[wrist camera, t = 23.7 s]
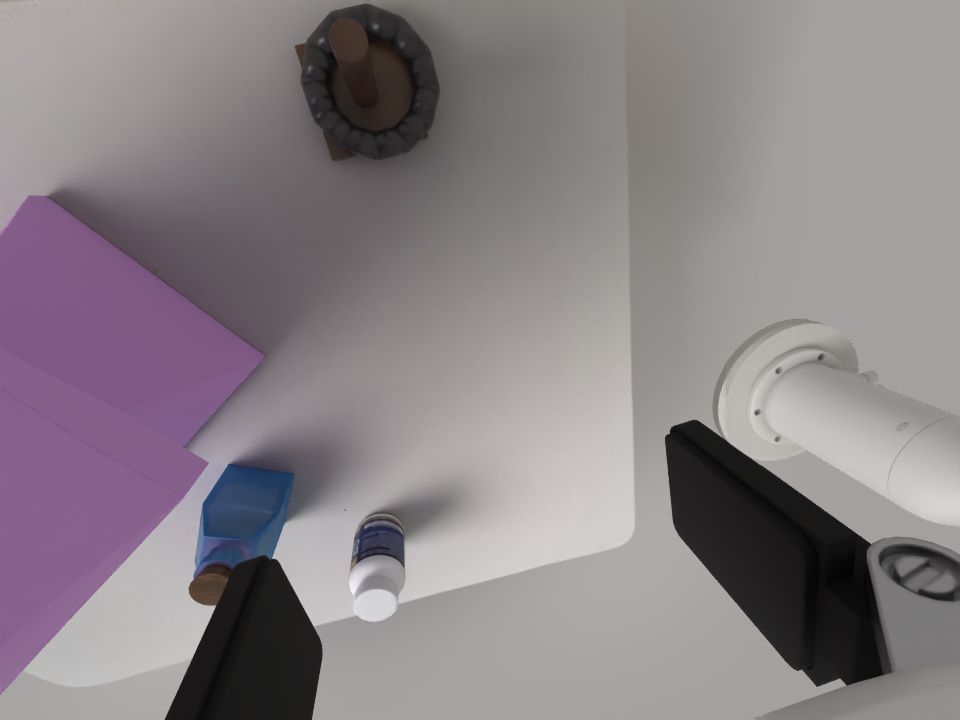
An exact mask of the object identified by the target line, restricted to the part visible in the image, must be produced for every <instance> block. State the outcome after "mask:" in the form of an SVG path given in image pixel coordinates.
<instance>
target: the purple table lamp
mask: <svg viewBox="0 0 960 720" xmlns="http://www.w3.org/2000/svg"><path fill="white" fill-rule="evenodd" d="M265 357H266V356H264V355H263V354H261V353H260V352H259V351H257V350H256V349H255V348H253V347H252V346H250V345H249V344H248V343H246V342H245V341H244V340H242V339H241V338H240V337H238V336H237V335H235V334H234V333H233V332H231V331H230V330H229V329H227V328H226V327H224V326H223V325H222V324H220V323H219V322H218V321H216V320H215V319H214V318H212V317H211V316H209V315H208V314H207V313H205V312H204V311H203V310H201V309H200V308H199V307H197V306H196V305H194V304H193V303H192V302H190V301H189V300H188V299H186V298H185V297H183V296H182V295H181V294H179V293H178V292H177V291H175V290H174V289H173V288H171V287H170V286H168V285H167V284H166V283H164V282H163V281H162V280H160V279H159V278H157V277H156V276H155V275H153V274H152V273H151V272H149V271H148V270H147V269H145V268H144V267H142V266H141V265H140V264H138V263H137V262H136V261H134V260H133V259H132V258H130V257H129V256H127V255H126V254H125V253H123V252H122V251H121V250H119V249H118V248H116V247H115V246H114V245H112V244H111V243H110V242H108V241H107V240H106V239H104V238H103V237H101V236H100V235H99V234H97V233H96V232H95V231H93V230H92V229H90V228H89V227H88V226H86V225H85V224H84V223H82V222H81V221H80V220H78V219H77V218H75V217H74V216H73V215H71V214H70V213H69V212H67V211H66V210H65V209H63V208H62V207H60V206H59V205H58V204H56V203H55V202H54V201H52V200H51V199H49V198H48V197H47V196H28V198H27V199H26V200H25V201H24V203H23V204H22V205H21V207H20V208H19V209H18V211H17V212H16V213H15V214H14V216H13V217H12V218H11V220H10V221H9V222H8V223H7V225H6V226H5V227H4V229H3V230H2V231H1V233H0V695H1V694H2V692H3V691H4V690H5V689H6V688H7V687H8V686H9V685H10V684H11V683H12V682H13V680H14V679H15V678H16V677H17V676H18V675H19V674H20V673H21V672H22V671H23V669H24V668H25V667H26V666H27V665H28V664H29V663H30V662H31V661H32V660H33V659H34V658H35V656H36V655H37V654H38V653H39V652H40V651H41V650H42V649H43V648H44V647H45V646H46V645H47V643H48V642H49V641H50V640H51V639H52V638H53V637H54V636H55V635H56V634H57V633H58V632H59V630H60V629H61V628H62V627H63V626H64V625H65V624H66V623H67V622H68V621H69V620H70V619H71V618H72V616H73V615H74V614H75V613H76V612H77V611H78V610H79V609H80V608H81V607H82V606H83V605H84V604H85V603H86V601H87V600H88V599H89V598H90V597H91V596H92V595H93V594H94V593H95V592H96V591H97V590H98V589H99V588H100V587H101V586H102V584H103V583H104V582H105V581H106V580H107V579H108V578H109V577H110V576H111V575H112V574H113V573H114V572H115V571H116V570H117V569H118V568H119V566H120V565H121V564H122V563H123V562H124V561H125V560H126V559H127V558H128V557H129V556H130V555H131V554H132V553H133V551H134V550H135V549H136V548H137V547H138V546H139V545H140V544H141V543H142V542H143V541H144V540H145V539H146V537H147V536H148V535H149V534H150V533H151V532H152V531H153V530H154V529H155V528H156V527H157V526H158V525H159V523H160V522H161V521H162V520H163V519H164V518H165V517H166V516H167V515H168V514H169V513H170V512H171V511H172V510H173V509H174V507H175V506H176V505H177V504H178V503H179V502H180V501H181V500H182V499H183V497H184V496H185V495H186V493H187V492H188V491H189V489H190V488H191V487H192V485H193V484H194V483H195V481H196V480H197V479H198V477H199V476H200V474H201V473H202V472H203V470H204V469H205V468H206V466H207V465H208V464H209V463H208V462H206V461H205V460H203V459H202V458H200V457H198V456H197V455H195V454H193V453H192V452H190V451H188V450H187V449H185V448H183V447H184V446H185V445H186V444H187V443H188V442H189V441H190V439H191V438H192V437H193V436H194V435H195V434H196V433H197V432H198V431H199V430H200V428H201V427H202V426H203V425H204V424H205V423H206V422H207V421H208V420H209V419H210V417H211V416H212V415H213V414H214V413H215V412H216V411H217V410H218V409H219V407H220V406H221V405H222V404H223V403H224V402H225V401H226V400H227V399H228V398H229V396H230V395H231V394H232V393H233V392H234V391H235V390H236V389H237V388H238V387H239V385H240V384H241V383H242V382H243V381H244V380H245V379H246V378H247V377H248V376H249V374H250V373H251V372H252V371H253V370H254V369H255V368H256V367H257V366H258V365H259V363H260V362H261V361H262V360H263V359H264V358H265Z"/></svg>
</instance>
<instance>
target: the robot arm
mask: <svg viewBox="0 0 960 720" xmlns="http://www.w3.org/2000/svg"><path fill="white" fill-rule="evenodd" d="M878 379H879V377H878V375H877V373H876V372H874V371H869V372H865V373H862V374H860V375H856V374H853V373H851V372H848V371H845V370H843V369H842V366H841V364H840V362H839V361H838V359H836V358H835V357H834V356H833V355H832V354H830V353H828V352H826V351H823V350H820V349H817V348H810V347H805V348H798V349H794V350H791V351H788V352H786V353H784V354H782V355H780V356H779V357H778V358H776V359H775V360H773V361H772V362H771V363H770V364H769V365H768V366H767V367H766V368H764V370H763V371H762V372H761V373H760V375H759V376H758V377H757V379H756V380H755V382H754V384H753V386H752V388H751V390H750V393H749V396H748V400H747V407H746V414H747V420H748V423H749V425H750V427H751V429H752V430H753V431H754V433H755V434H757V435H758V436H759V437H761V438H762V439H764V440H766V441H768V442H770V443H773V444H781V445H785V444H792V443H796V444H797V445H799V446H801V447H802V448H804V449H806V450H807V451H809V452H811V453H812V454H814V455H816V456H817V457H819V458H821V459H822V460H824V461H826V462H827V463H829V464H831V465H832V466H834V467H836V468H837V469H839V470H841V471H842V472H844V473H846V474H847V475H849V476H851V477H852V478H854V479H856V480H857V481H859V482H861V483H862V484H864V485H866V486H867V487H869V488H871V489H872V490H874V491H876V492H877V493H879V494H881V495H882V496H884V497H886V498H887V499H889V500H891V501H892V502H894V503H896V504H897V505H899V506H900V507H902V508H904V509H905V510H907V511H909V512H910V513H912V514H914V515H916V516H918V517H920V518H923V519H925V520H928V521H932V522H935V523H939V524H944V525H950V526H959V527H960V416H957V415H954V414H952V413H949V412H946V411H944V410H941V409H939V408H936V407H933V406H931V405H928V404H925V403H923V402H920V401H917V400H915V399H912V398H909V397H907V396H904V395H901V394H899V393H896V392H893V391H891V390H888V389H886V388H884V387H883V386H881V385H875V384H872V383H873V382H876V381H878ZM665 445H666V455H667V464H668V475H669V486H670V496H671V506H672V516H673V524H674V527H675V529H676V531H677V533H678V535H679V536H680V537H681V539H682V540H683V541H684V542H685V543H686V545H687V546H688V547H689V548H690V549H691V550H692V551H693V553H694V554H695V555H696V556H697V557H698V559H699V560H700V561H701V562H702V563H703V564H704V566H705V567H706V568H707V569H708V570H709V572H710V573H711V574H712V575H713V576H714V577H715V579H716V580H717V581H718V582H719V583H720V585H721V586H722V587H723V588H724V589H725V590H726V592H727V593H728V594H729V595H730V596H731V597H732V598H733V600H734V601H735V602H736V603H737V604H738V606H739V607H740V608H741V609H742V610H743V612H744V613H745V614H746V615H747V616H748V618H750V620H751V621H752V622H753V623H754V625H755V626H756V627H757V628H758V629H759V630H760V632H761V633H762V634H763V635H764V636H765V637H766V639H767V640H768V641H769V642H770V643H771V645H772V646H773V647H774V648H775V649H776V650H777V652H778V653H779V654H780V655H781V656H782V658H783V659H784V660H785V661H786V662H787V663H788V664H789V665H790V666H791V667H792V668H793V669H795V670H797V671H799V670H803V671H804V672H805V674H806V675H807V676H808V677H809V678H810V679H811V680H812V682H813V683H814V684H815V685H816V686H817V687H818V686H821V685H823V684H826V683H829V682H831V681H834V680H837V679H839V678H840V679H841V680H842V681H843V682H844V683H845V684H846V685H847V686H845V687H842V688H839V689H836V690H834V691H830V692H828V693H825V694H822V695H819V696H816V697H813V698H810V699H807V700H805V701H801V702H799V703H796V704H793V705H790V706H787V707H784V708H781V709H779V710H775V711H772V712H770V713H767V714H764V715H762V716H759V717H756V718H753V719H751V720H960V555H959V554H958V553H956V552H954V551H952V550H950V549H948V548H945V547H943V546H940V545H938V544H935V543H933V542H928V541H924V540H920V539H916V538H907V537H891V538H883V539H881V540H879V541H876V542H874V543H872V544H870V543H869V542H867V541H866V540H865V539H863V538H862V537H861V536H859V535H858V534H856V533H855V532H854V531H852V530H851V529H849V528H848V527H846V526H845V525H844V524H842V523H841V522H840V521H838V520H837V519H836V518H834V517H833V516H831V515H830V514H829V513H827V512H825V511H824V510H823V509H822V508H820V507H819V506H817V505H816V504H815V503H813V502H812V501H810V500H809V499H808V498H806V497H805V496H803V495H802V494H801V493H799V492H798V491H796V490H795V489H793V488H792V487H791V486H789V485H788V484H787V483H785V482H784V481H782V480H781V479H780V478H778V477H777V476H775V475H774V474H773V473H771V472H770V471H768V470H767V469H766V468H764V467H763V466H761V465H759V464H758V463H757V462H755V461H754V460H752V459H751V458H750V457H748V456H747V455H745V454H744V453H743V452H741V451H740V450H738V449H737V448H736V447H734V446H733V445H732V444H730V443H729V442H727V441H726V440H725V439H723V438H722V437H720V436H719V435H718V434H716V433H715V432H713V431H712V430H711V429H709V428H708V427H706V426H705V425H704V424H702V423H701V422H699V421H697V420H691V421H688V422H685V423H682V424H679V425H675V426H673V427H672V428H671V430H670V434H668V435H666V437H665ZM321 662H322V644H321V641H320V638H319V636H318V634H317V632H316V630H315V629H314V627H313V625H312V623H311V621H310V619H309V617H308V615H307V614H306V612H305V610H304V608H303V606H302V604H301V602H300V601H299V599H298V597H297V595H296V593H295V591H294V589H293V588H292V586H291V584H290V582H289V580H288V578H287V576H286V575H285V573H284V571H283V569H282V567H281V565H280V563H279V562H278V560H276V559H271V560H270V558H269V557H268V556H266V555H262V556H259V557H255V558H252V559H249V560H246V561H243V562H240V563H238V564H236V565H235V567H234V568H233V570H232V573H231V575H230V577H229V579H228V581H227V584H226V586H225V588H224V590H223V592H222V595H221V597H220V599H219V601H218V603H217V606H216V608H215V610H214V612H213V614H212V617H211V619H210V621H209V623H208V625H207V628H206V630H205V632H204V634H203V636H202V639H201V641H200V643H199V645H198V647H197V650H196V652H195V654H194V656H193V658H192V661H191V663H190V665H189V667H188V669H187V672H186V674H185V676H184V678H183V680H182V683H181V685H180V687H179V689H178V691H177V694H176V696H175V698H174V700H173V702H172V705H171V707H170V709H169V711H168V713H167V716H166V718H165V720H312V715H313V709H314V703H315V698H316V692H317V686H318V680H319V674H320V668H321Z"/></svg>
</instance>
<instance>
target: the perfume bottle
mask: <svg viewBox="0 0 960 720" xmlns="http://www.w3.org/2000/svg"><path fill="white" fill-rule="evenodd" d="M293 478H294V474H291V473H284V472H277V471H271V470H264V469H257V468H250V467H243V466H236V465H229V464H228V466H227V468H226V469H225V471H224V472H223V474H222V475H221V477H220V478H219V480H218V481H217V483H216V484H215V486H214V487H213V489H212V490H211V492H210V494H209V495H208V497H207V498H206V500H205V501H204V503H203V506H202V513H201V520H200V528H199V535H198V542H197V549H196V556H195V564H196V570H195V573H194V580H193V581H192V582H191V583H190V586H189V594H190V596H191V597H192V599H194V600H195V601H196V602H198V603H200V604H203V605H208V606H214V605H217V603H218V601H219V599H220V597H221V595H222V592H223V590H224V588H225V586H226V584H227V581H228V579H229V577H230V575H231V573H232V570H233V568H234V567H235V565H236V564H238V563H240V562H243V561H246V560H249V559H252V558H255V557H259V556H262V555H266V556H268V557H269V558H270V560H271V559H272V557H273V554H274V551H275V548H276V545H277V543H278V540H279V537H280V534H281V531H282V528H283V526H284V522H285V517H286V512H287V507H288V503H289V498H290V493H291V488H292V483H293Z"/></svg>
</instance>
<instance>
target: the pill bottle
mask: <svg viewBox="0 0 960 720" xmlns="http://www.w3.org/2000/svg"><path fill="white" fill-rule="evenodd" d="M404 583H405V533H404V527H403V525H402V523H401V522H400V521H399V520H398V519H397V518H396V517H394V516H392V515H389V514H374V515H371V516H369V517H367V518H365V519H364V520H363V521H362V522H361V523H360V524H359V525H358V527H357V529H356V533H355V538H354V545H353V553H352V560H351V567H350V575H349V586H350V590H351V592H352V594H353V595H354V611H355V613H356V614H357V616H358V617H360V618H361V619H363V620H366V621H380V620H383V619H386V618H388V617H390V616H391V615H392V614H393V613H394V612H395V610H396V608H397V606H398V594H399V593H400V592H401V590H402V588H403V586H404Z"/></svg>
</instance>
